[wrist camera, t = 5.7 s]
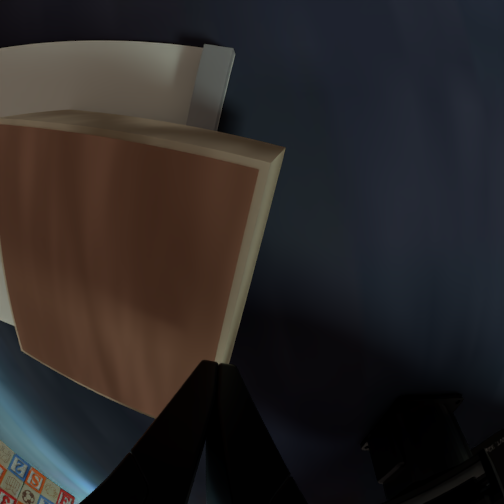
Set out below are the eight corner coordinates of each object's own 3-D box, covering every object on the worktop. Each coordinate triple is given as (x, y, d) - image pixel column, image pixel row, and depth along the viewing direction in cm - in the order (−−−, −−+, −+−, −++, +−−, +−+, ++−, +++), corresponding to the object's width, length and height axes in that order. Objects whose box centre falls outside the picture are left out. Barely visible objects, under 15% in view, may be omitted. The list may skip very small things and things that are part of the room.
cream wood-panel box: (270, 163, 7) (-5, 118, 7) (203, 436, 11) (20, 351, 11) (285, 147, 10) (69, 109, 11) (227, 368, 14) (67, 307, 15)
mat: (235, 54, 11) (233, 48, 9) (177, 371, 17) (173, 388, 16) (-15, 51, 9) (-32, 51, 8) (-6, 314, 16) (-16, 325, 15)
